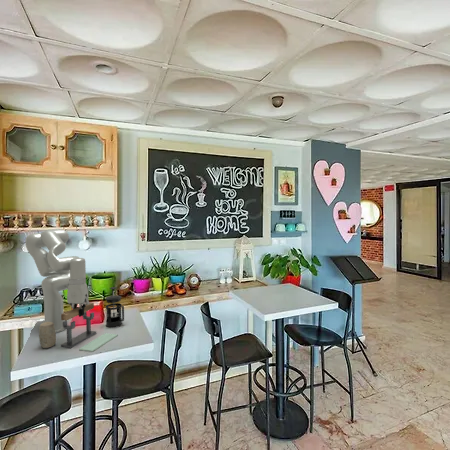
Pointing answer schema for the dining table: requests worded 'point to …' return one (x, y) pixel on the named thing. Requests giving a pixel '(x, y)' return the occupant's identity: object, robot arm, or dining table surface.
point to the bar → (75, 312)
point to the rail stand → (81, 337)
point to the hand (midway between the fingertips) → (78, 315)
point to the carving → (47, 334)
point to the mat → (98, 342)
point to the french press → (115, 317)
